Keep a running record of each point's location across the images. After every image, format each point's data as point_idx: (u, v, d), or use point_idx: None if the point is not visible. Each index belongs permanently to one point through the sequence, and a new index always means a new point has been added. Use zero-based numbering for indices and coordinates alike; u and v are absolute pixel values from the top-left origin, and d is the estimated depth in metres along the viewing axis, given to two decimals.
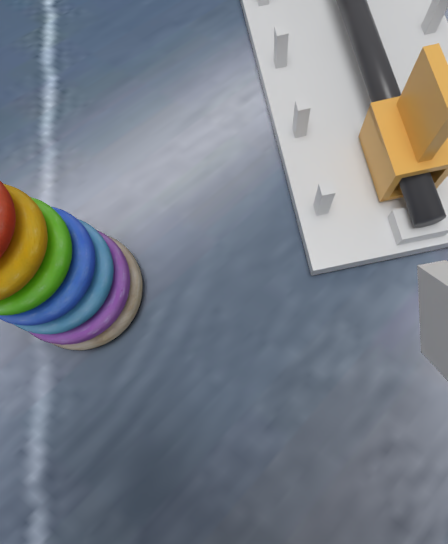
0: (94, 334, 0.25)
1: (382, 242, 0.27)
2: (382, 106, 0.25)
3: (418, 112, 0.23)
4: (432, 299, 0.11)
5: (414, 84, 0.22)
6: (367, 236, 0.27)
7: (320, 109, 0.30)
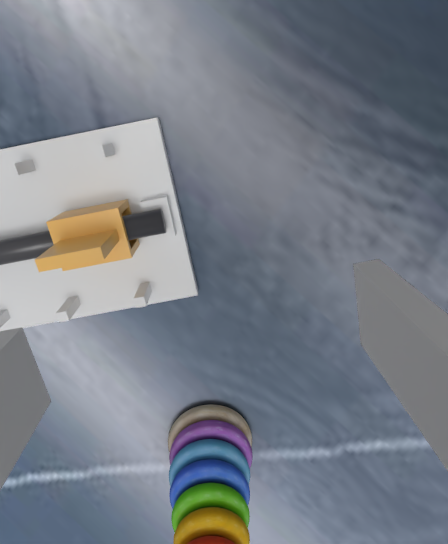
0: (246, 441, 0.37)
1: (174, 243, 0.33)
2: None
3: None
4: (364, 294, 0.12)
5: None
6: (169, 254, 0.33)
7: (50, 283, 0.34)
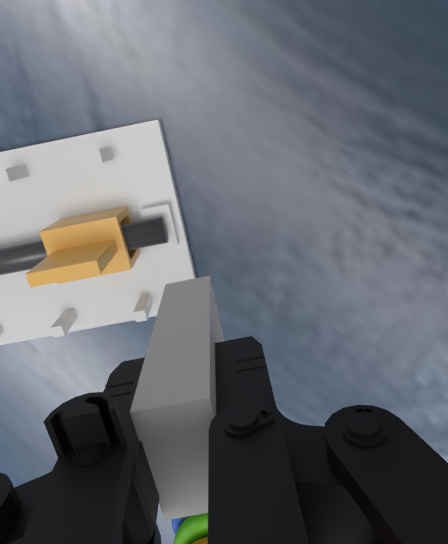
0: None
1: (176, 252, 0.31)
2: None
3: None
4: None
5: None
6: (171, 264, 0.32)
7: (45, 295, 0.32)
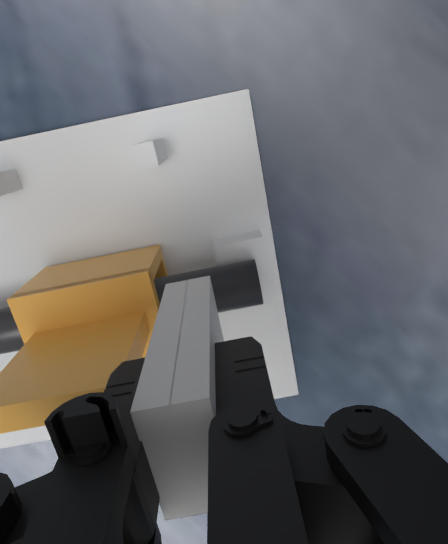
0: None
1: (265, 311, 0.19)
2: None
3: None
4: None
5: None
6: (255, 329, 0.19)
7: None
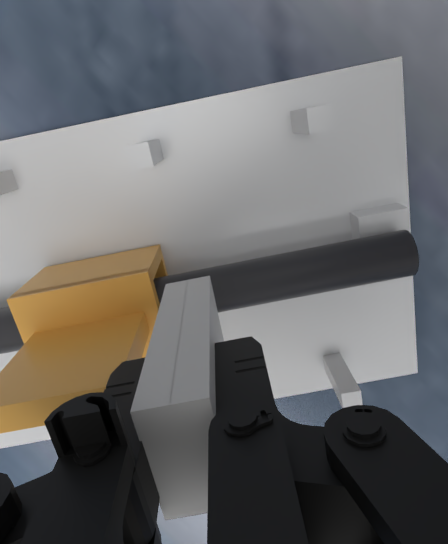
0: None
1: (393, 287, 0.19)
2: None
3: None
4: None
5: None
6: (381, 305, 0.19)
7: None
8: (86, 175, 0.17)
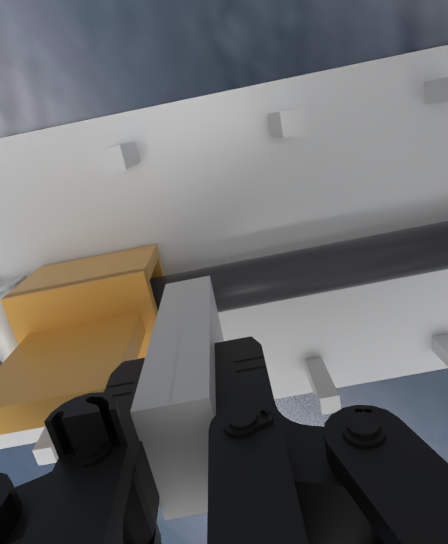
0: None
1: None
2: None
3: None
4: None
5: None
6: None
7: (278, 336, 0.19)
8: (211, 147, 0.17)
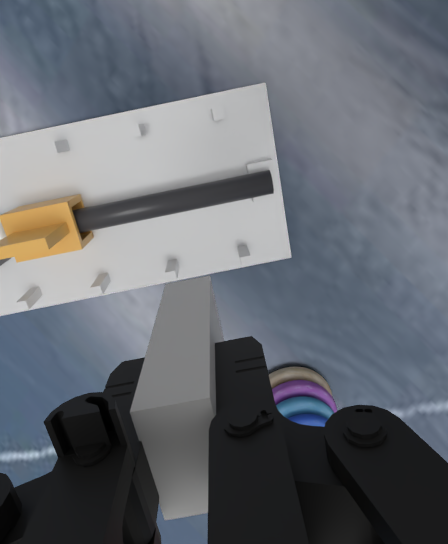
0: (333, 399, 0.39)
1: (273, 205, 0.35)
2: None
3: None
4: None
5: None
6: (267, 216, 0.35)
7: (152, 246, 0.35)
8: (106, 143, 0.32)
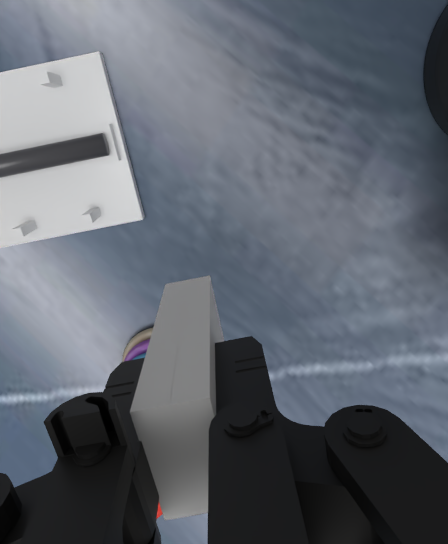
0: None
1: (119, 169, 0.37)
2: None
3: None
4: None
5: None
6: (115, 180, 0.37)
7: (9, 207, 0.38)
8: None
